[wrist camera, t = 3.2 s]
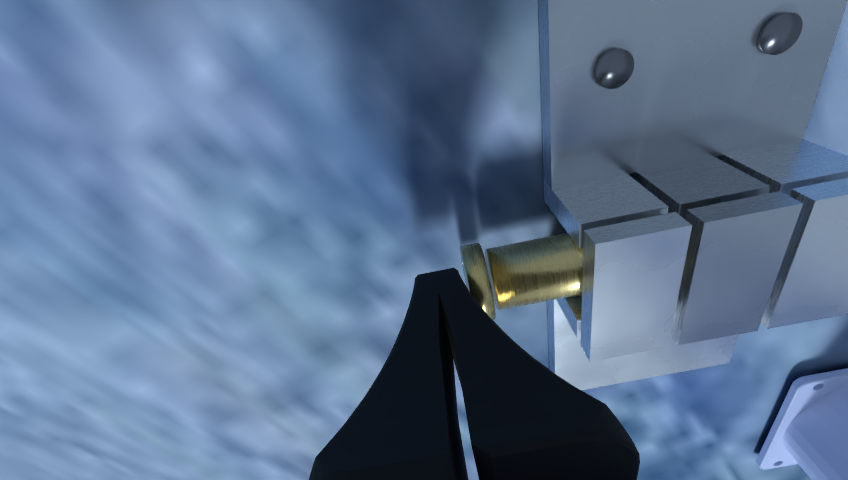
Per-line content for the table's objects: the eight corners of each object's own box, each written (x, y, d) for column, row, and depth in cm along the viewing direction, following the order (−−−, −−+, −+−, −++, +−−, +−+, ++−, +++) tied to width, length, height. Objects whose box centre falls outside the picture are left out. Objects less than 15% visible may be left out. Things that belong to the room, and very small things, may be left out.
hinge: (850, -105, 10) (1084, -150, 7) (717, 349, 19) (789, 429, 15) (536, -35, 10) (610, -45, 7) (549, 380, 19) (584, 465, 16)
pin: (722, 178, 13) (785, 215, 11) (707, 241, 15) (762, 285, 12) (456, 231, 14) (469, 277, 11) (466, 289, 15) (479, 339, 13)
